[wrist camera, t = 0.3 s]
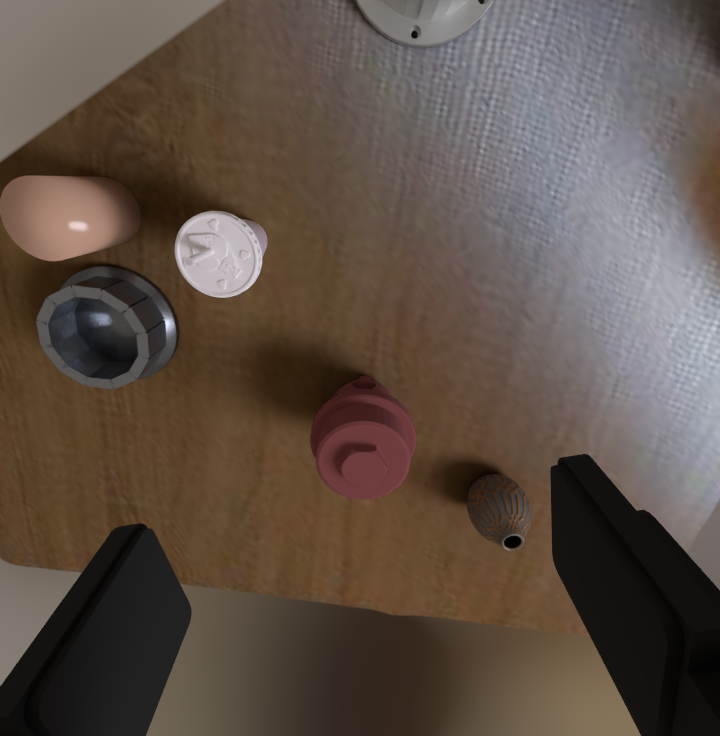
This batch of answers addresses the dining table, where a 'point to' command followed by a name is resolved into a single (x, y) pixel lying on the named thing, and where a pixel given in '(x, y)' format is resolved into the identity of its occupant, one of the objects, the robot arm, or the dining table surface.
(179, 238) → the smoothie
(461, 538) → the dining table surface
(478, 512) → the vase
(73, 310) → the ring socket
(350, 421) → the mechanical component
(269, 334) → the dining table surface
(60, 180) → the peach rounded cylinder
